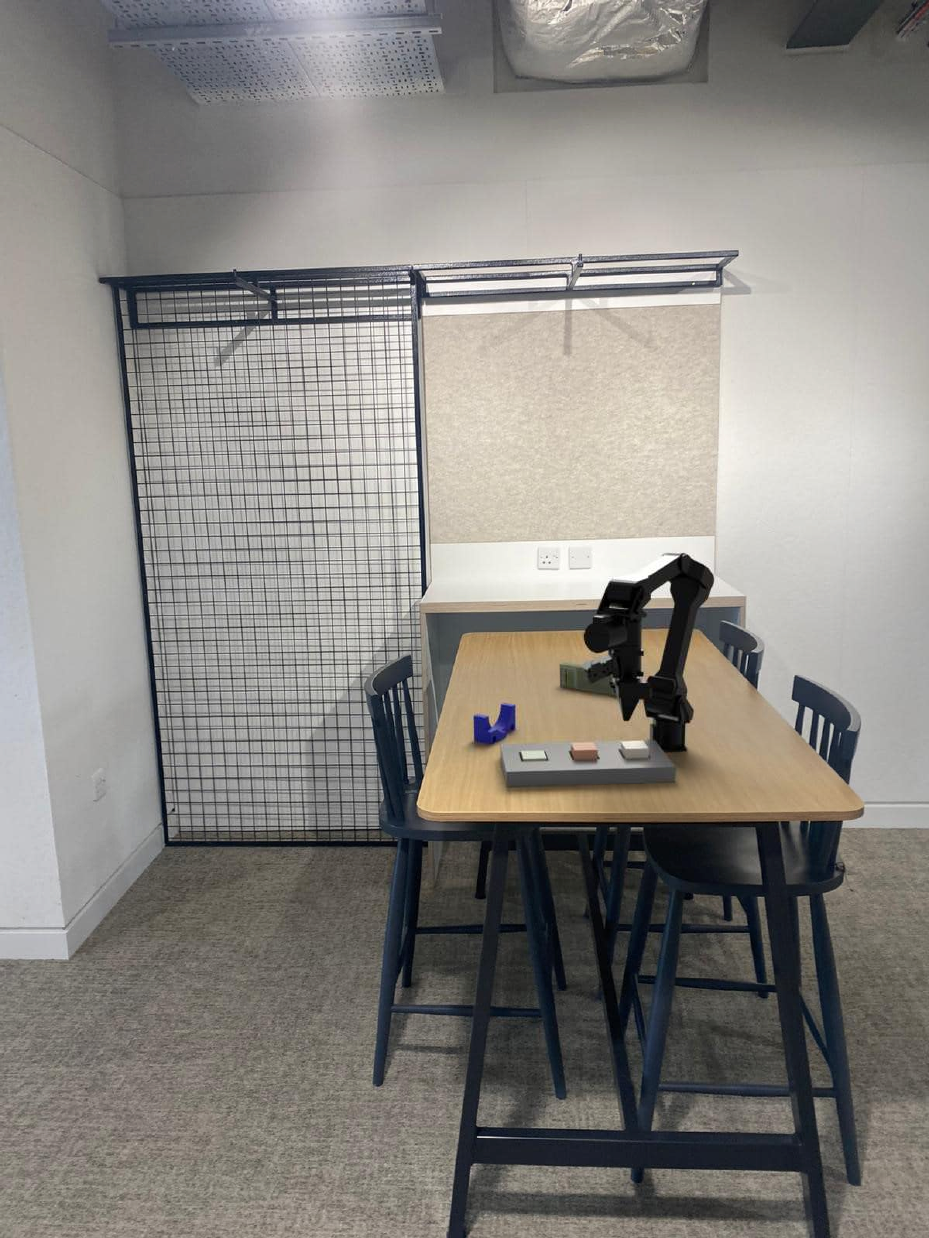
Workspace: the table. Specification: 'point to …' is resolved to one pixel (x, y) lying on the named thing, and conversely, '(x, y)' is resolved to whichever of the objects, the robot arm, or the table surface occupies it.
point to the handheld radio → (582, 679)
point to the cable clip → (495, 725)
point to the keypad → (584, 765)
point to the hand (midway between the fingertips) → (626, 720)
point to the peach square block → (584, 751)
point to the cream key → (634, 749)
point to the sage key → (533, 756)
